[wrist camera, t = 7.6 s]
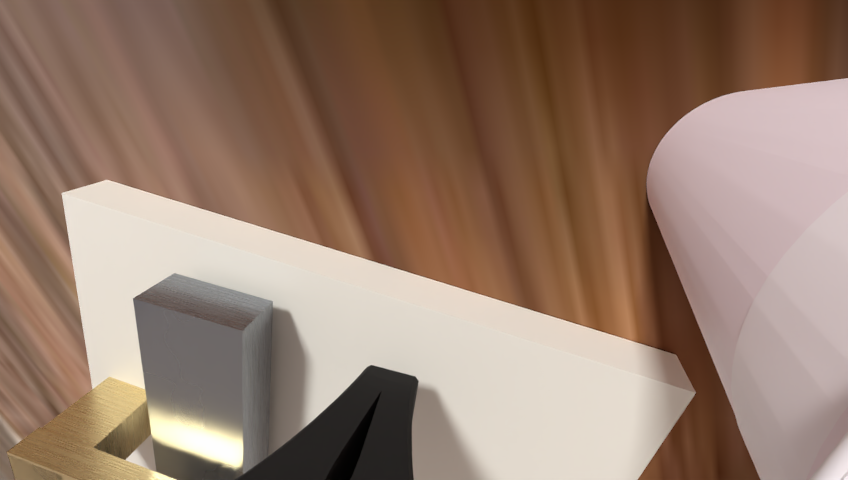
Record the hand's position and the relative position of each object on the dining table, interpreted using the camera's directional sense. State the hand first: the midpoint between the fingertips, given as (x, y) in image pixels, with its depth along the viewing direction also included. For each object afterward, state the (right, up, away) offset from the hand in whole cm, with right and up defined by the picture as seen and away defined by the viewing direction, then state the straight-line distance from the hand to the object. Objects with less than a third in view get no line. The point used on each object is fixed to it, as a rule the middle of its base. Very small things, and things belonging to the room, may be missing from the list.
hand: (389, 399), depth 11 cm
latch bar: (-6, -3, +3) cm, 7 cm away
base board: (-2, -3, +5) cm, 6 cm away
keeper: (-8, -2, +4) cm, 9 cm away
